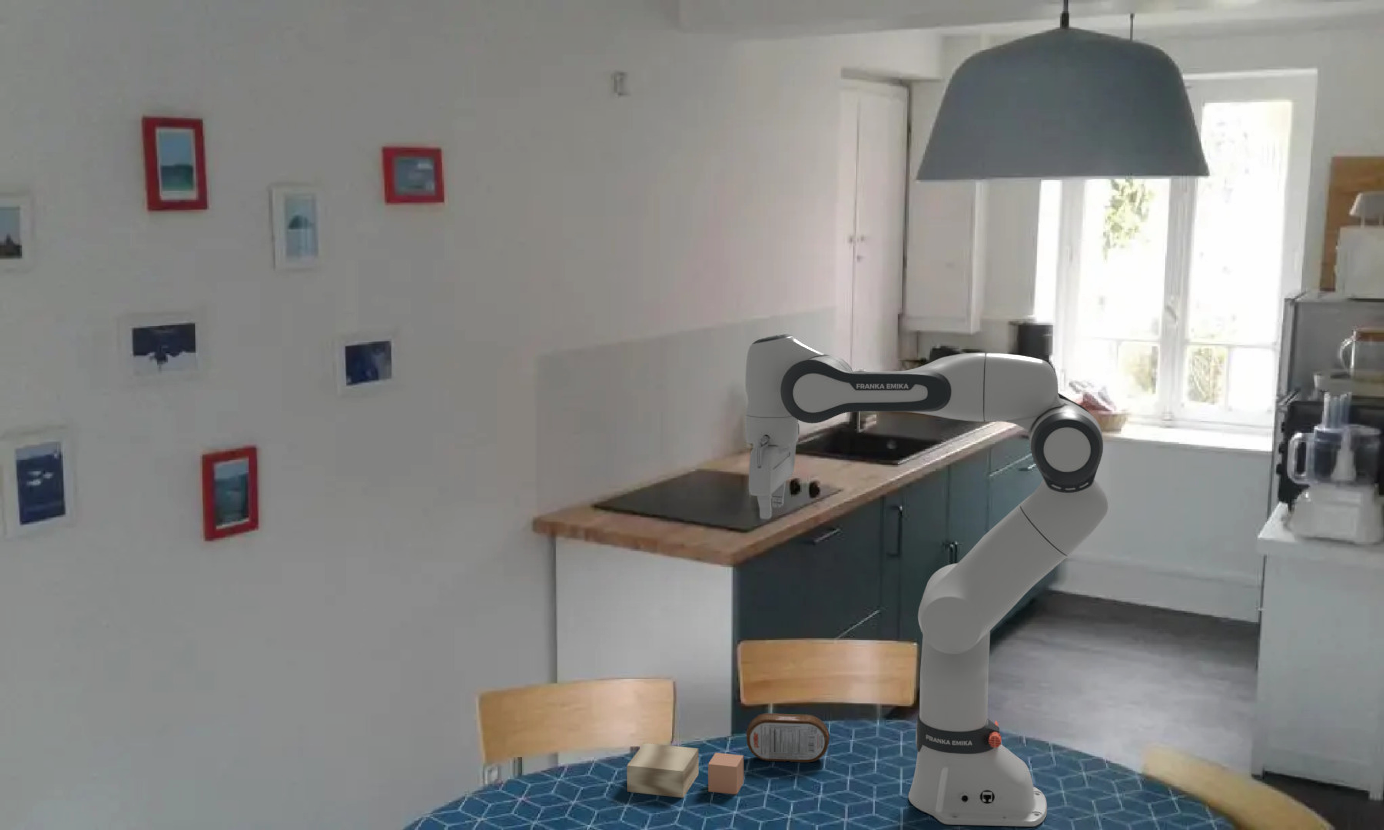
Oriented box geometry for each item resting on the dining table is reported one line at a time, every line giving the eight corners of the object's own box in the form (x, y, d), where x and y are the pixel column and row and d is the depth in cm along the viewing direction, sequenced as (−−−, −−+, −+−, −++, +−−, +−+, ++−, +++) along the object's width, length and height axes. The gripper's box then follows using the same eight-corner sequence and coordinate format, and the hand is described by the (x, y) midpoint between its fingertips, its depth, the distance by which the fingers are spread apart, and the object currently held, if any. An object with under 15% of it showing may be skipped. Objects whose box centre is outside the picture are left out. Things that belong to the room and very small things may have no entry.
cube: (743, 783, 221) (743, 755, 220) (736, 794, 216) (736, 766, 215) (715, 780, 222) (715, 752, 221) (708, 791, 217) (708, 763, 216)
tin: (829, 757, 231) (829, 713, 230) (829, 764, 228) (829, 720, 227) (746, 755, 232) (746, 711, 231) (745, 762, 229) (745, 717, 228)
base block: (698, 775, 224) (698, 748, 224) (683, 799, 215) (683, 771, 214) (644, 769, 227) (644, 743, 226) (627, 793, 217) (626, 765, 217)
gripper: (777, 441, 202) (777, 526, 204) (801, 423, 221) (801, 501, 223) (739, 440, 203) (739, 524, 205) (766, 422, 223) (766, 499, 225)
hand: (771, 512), depth 214 cm, fingers open, 8 cm apart
